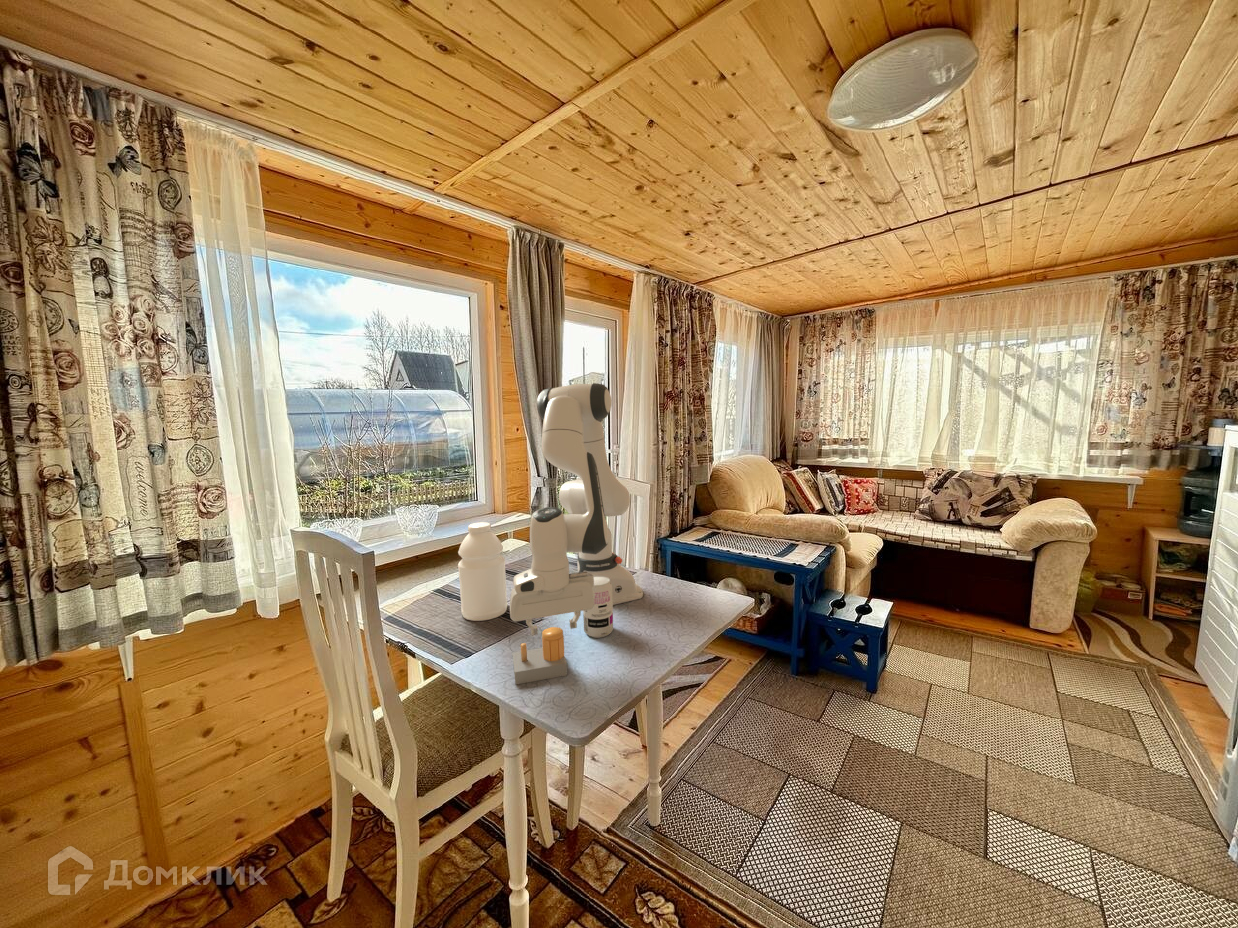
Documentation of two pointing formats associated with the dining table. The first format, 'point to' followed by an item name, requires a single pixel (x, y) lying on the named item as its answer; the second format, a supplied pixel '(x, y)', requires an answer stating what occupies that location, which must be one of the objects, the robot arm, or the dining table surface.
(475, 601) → the bottle
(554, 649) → the wire nut cap
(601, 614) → the supplement can
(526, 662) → the pegged grey base
